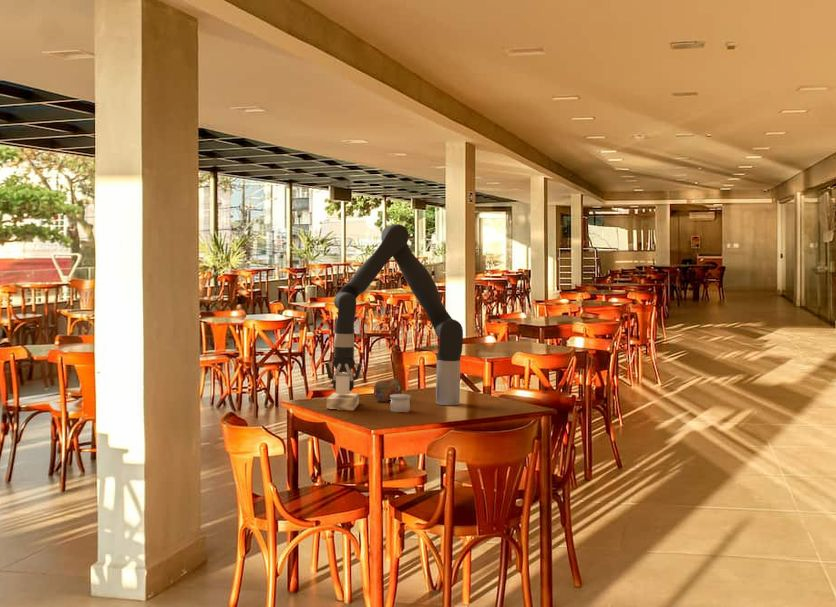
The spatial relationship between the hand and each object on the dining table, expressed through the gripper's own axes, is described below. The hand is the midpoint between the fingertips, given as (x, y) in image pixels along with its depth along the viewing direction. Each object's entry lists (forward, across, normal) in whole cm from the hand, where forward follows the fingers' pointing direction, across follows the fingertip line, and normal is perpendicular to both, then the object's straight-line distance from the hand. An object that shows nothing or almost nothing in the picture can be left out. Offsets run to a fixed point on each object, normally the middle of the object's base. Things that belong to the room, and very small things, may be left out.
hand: (343, 390), depth 352 cm
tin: (+6, -15, -19) cm, 25 cm away
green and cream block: (+1, 0, 0) cm, 1 cm away
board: (+6, 0, 0) cm, 6 cm away
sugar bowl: (+6, -22, +6) cm, 24 cm away
